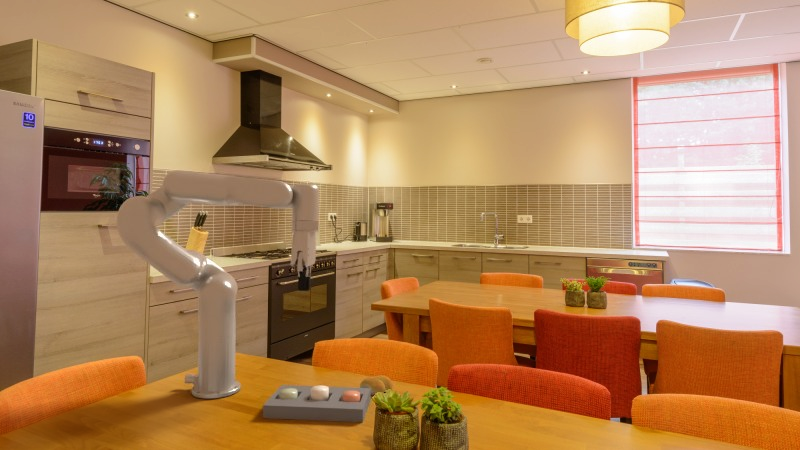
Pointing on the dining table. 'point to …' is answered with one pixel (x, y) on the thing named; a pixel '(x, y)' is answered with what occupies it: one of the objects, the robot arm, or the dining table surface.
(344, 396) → the terracotta button
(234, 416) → the dining table surface
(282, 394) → the sage button
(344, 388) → the button panel
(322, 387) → the white button
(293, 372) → the dining table surface
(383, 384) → the bread roll
